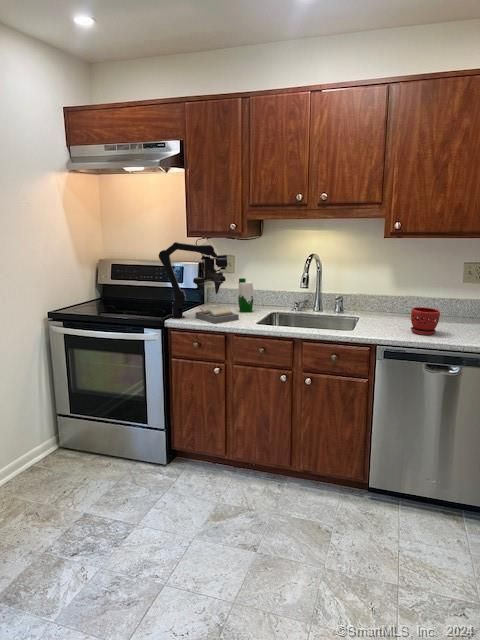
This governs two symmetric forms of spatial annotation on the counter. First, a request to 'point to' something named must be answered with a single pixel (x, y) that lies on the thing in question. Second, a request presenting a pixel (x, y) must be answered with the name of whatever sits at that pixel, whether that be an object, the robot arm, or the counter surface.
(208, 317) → the rocker switch panel
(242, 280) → the milk carton
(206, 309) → the plate
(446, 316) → the counter surface
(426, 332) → the plant pot
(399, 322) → the counter surface
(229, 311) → the green rocker
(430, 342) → the counter surface
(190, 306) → the counter surface
